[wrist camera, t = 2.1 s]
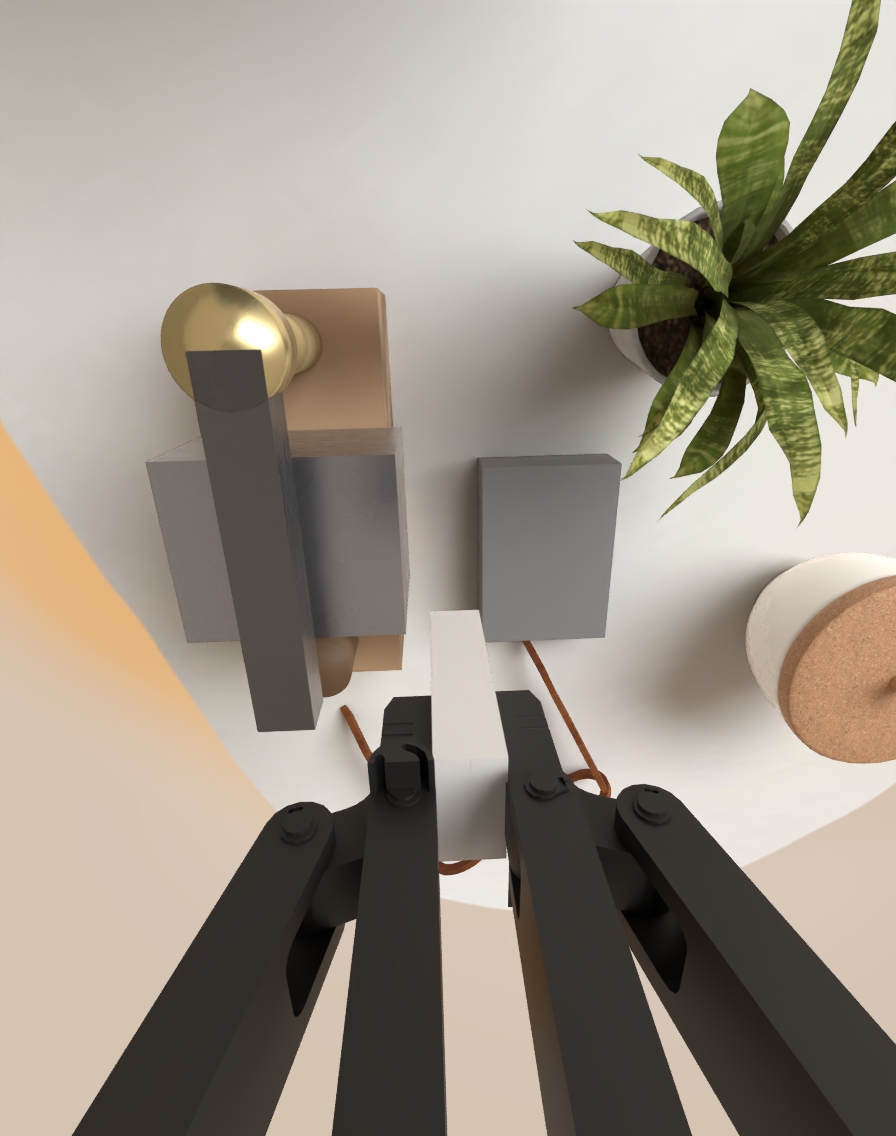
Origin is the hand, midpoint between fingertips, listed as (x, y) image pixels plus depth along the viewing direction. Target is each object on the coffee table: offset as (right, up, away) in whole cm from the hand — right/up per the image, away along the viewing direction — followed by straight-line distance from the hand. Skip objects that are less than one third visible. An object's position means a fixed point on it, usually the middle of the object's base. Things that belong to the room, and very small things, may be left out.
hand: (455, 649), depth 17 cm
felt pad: (+5, +4, +15) cm, 16 cm away
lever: (-6, +4, +1) cm, 7 cm away
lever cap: (-6, +5, +8) cm, 12 cm away
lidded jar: (+22, 0, +18) cm, 28 cm away
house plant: (+9, +16, +10) cm, 21 cm away
